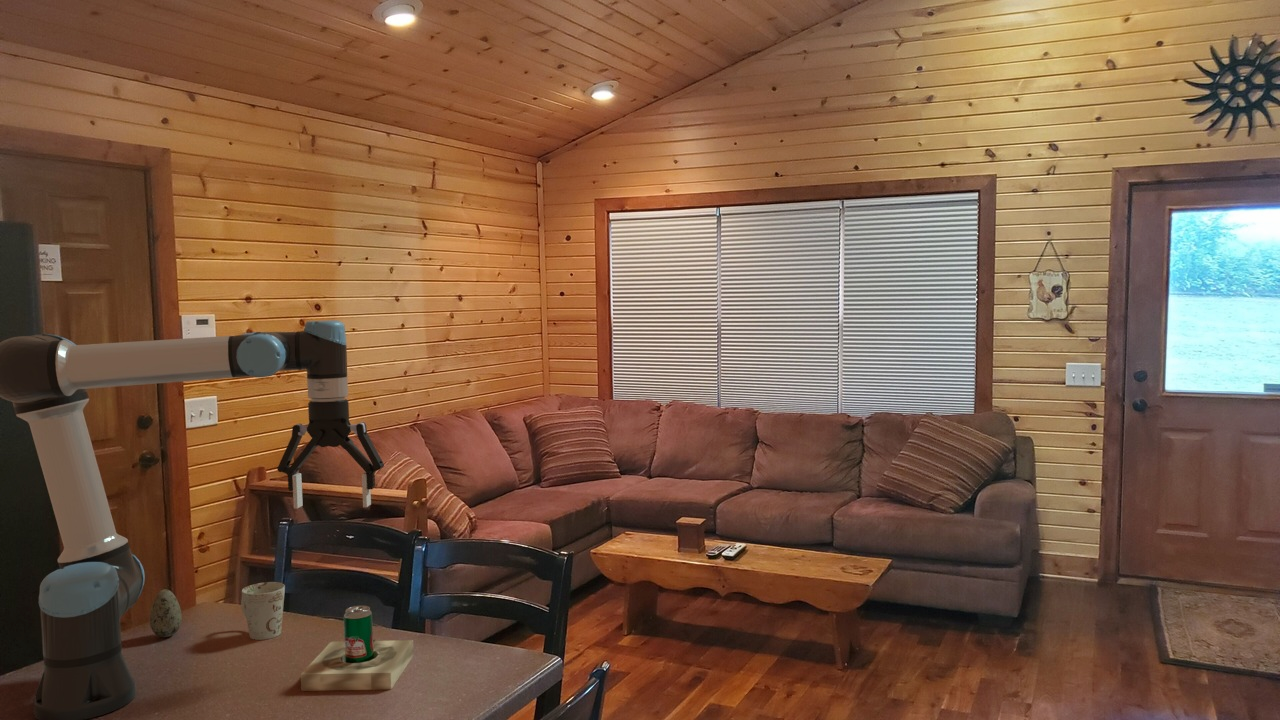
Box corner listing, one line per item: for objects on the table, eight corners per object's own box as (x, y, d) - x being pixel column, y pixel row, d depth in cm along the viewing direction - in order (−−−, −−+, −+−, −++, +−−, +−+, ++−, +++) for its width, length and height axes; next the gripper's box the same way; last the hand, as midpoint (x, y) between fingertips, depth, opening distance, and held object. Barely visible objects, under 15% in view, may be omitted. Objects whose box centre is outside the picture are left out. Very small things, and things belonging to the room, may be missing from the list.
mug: (260, 645, 188) (257, 596, 188) (223, 634, 195) (221, 587, 195) (295, 632, 195) (293, 585, 195) (258, 622, 202) (256, 577, 201)
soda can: (340, 676, 171) (338, 612, 170) (354, 666, 176) (352, 604, 175) (366, 678, 170) (363, 614, 169) (379, 667, 175) (376, 605, 174)
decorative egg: (168, 630, 198) (165, 584, 198) (189, 633, 196) (186, 586, 195) (144, 639, 193) (141, 592, 192) (165, 643, 190) (162, 595, 190)
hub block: (301, 690, 165) (300, 673, 165) (331, 656, 181) (331, 640, 181) (391, 689, 165) (390, 671, 165) (413, 655, 181) (413, 639, 181)
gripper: (256, 402, 178) (261, 511, 180) (386, 400, 178) (390, 509, 179) (272, 398, 186) (277, 503, 187) (396, 396, 186) (400, 501, 187)
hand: (332, 506), depth 183 cm, fingers open, 13 cm apart
